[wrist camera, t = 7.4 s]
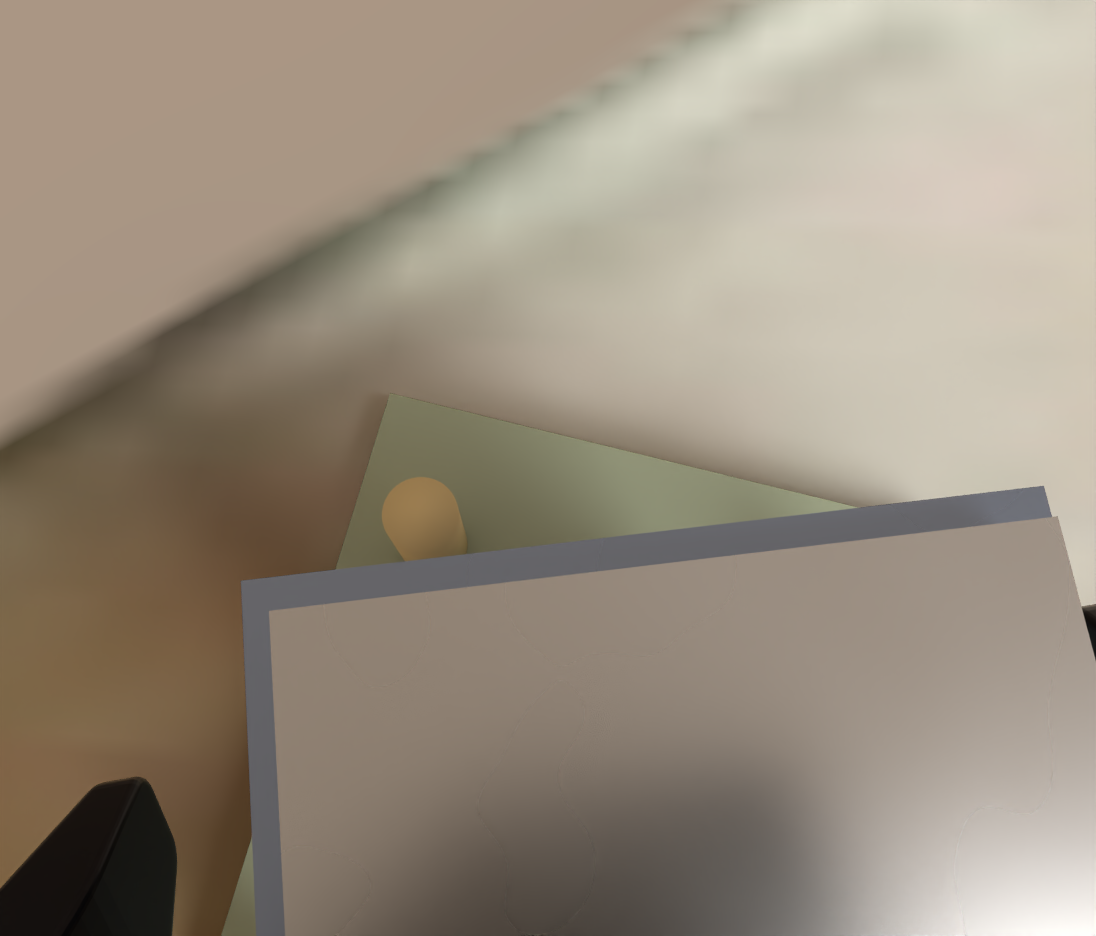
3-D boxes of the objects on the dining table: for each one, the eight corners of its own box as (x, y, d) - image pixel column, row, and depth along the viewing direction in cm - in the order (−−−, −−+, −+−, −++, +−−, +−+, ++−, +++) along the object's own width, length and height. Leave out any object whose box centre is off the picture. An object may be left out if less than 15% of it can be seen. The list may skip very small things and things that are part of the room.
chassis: (832, 1325, 16) (912, 1477, 13) (172, 1138, 17) (82, 1235, 13) (946, 544, 20) (1032, 502, 16) (396, 410, 20) (369, 341, 17)
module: (762, 965, 17) (1396, 1543, 4) (457, 1008, 16) (254, 1741, 4) (711, 657, 18) (1093, 459, 6) (429, 692, 18) (210, 561, 6)
